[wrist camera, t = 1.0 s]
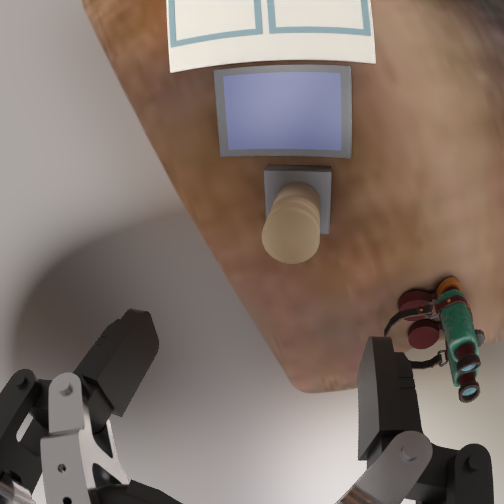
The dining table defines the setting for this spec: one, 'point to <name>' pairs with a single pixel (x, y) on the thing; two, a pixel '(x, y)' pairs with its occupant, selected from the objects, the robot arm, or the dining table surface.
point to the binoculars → (456, 333)
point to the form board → (268, 31)
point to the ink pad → (284, 110)
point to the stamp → (296, 210)
